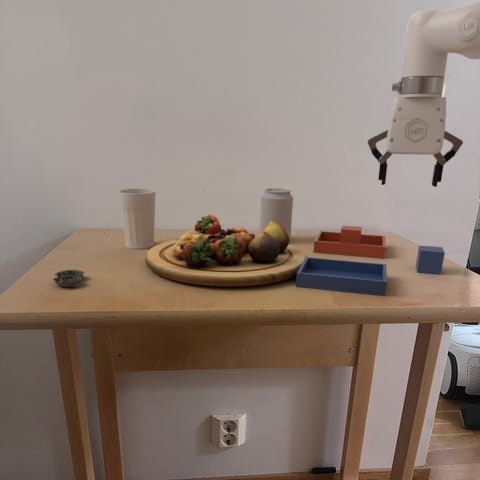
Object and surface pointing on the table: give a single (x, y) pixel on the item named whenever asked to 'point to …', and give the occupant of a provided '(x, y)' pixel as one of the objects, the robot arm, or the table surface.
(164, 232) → the table surface
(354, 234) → the terracotta block
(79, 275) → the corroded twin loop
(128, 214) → the cup
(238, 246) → the wooden plate
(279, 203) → the can
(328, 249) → the terracotta tray
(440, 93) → the robot arm
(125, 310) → the table surface
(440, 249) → the blue block
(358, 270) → the blue tray
